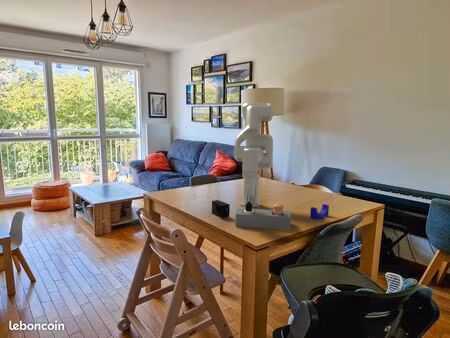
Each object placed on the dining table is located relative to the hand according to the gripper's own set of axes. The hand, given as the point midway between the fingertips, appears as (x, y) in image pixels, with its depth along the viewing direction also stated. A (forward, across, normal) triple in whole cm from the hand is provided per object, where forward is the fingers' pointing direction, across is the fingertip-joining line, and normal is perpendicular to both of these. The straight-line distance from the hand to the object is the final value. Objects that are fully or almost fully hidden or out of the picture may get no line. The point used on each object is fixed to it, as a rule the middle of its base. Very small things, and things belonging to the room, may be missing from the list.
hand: (248, 210), depth 148 cm
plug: (+6, 0, 0) cm, 6 cm away
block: (+6, 0, +7) cm, 10 cm away
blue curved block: (+7, -17, +38) cm, 42 cm away
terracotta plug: (+3, 0, +14) cm, 14 cm away
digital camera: (+7, -11, -16) cm, 20 cm away
